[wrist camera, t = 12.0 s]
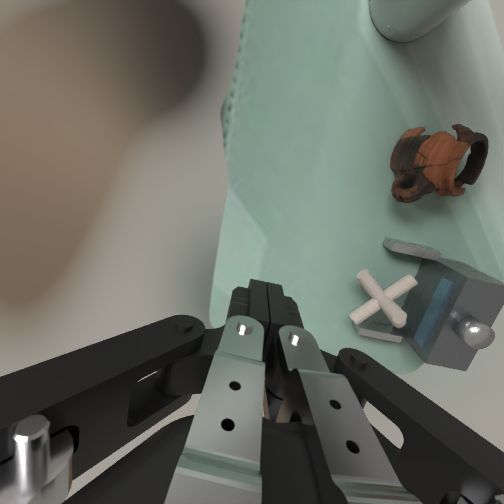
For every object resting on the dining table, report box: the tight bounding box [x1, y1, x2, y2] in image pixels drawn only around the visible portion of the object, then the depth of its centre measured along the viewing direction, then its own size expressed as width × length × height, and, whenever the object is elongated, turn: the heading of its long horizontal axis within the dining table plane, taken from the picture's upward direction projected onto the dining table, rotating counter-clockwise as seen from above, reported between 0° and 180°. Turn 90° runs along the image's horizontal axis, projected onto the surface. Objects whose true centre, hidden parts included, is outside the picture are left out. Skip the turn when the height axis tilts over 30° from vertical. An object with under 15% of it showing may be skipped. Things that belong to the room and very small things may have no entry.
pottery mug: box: [390, 124, 488, 203], centre depth 37 cm, size 12×10×8 cm
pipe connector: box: [349, 269, 418, 328], centre depth 40 cm, size 10×10×10 cm
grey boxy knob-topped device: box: [352, 237, 504, 371], centre depth 39 cm, size 15×13×11 cm
